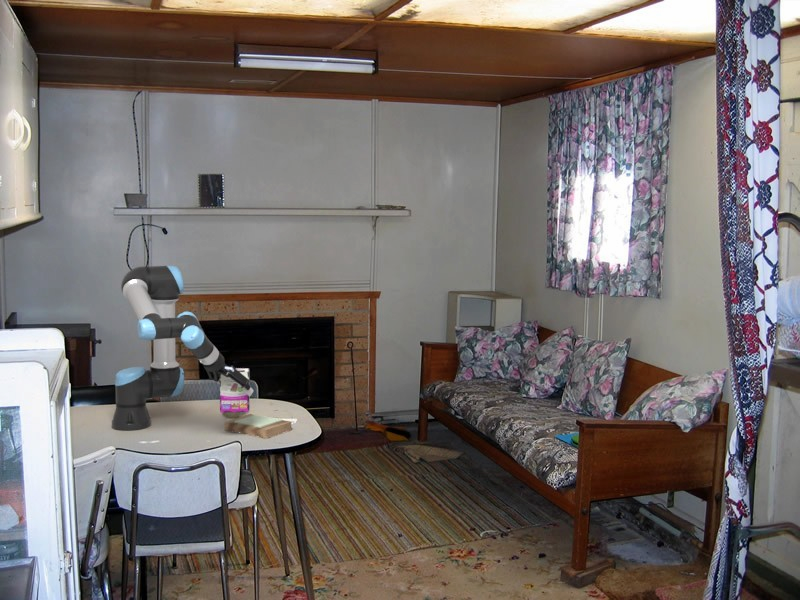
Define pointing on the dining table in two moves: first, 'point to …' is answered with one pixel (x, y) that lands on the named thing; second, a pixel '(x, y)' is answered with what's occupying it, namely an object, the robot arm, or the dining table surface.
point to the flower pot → (231, 414)
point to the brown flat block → (256, 431)
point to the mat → (258, 421)
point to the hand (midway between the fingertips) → (239, 391)
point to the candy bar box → (233, 394)
